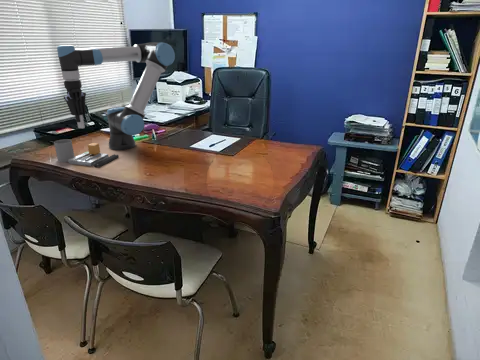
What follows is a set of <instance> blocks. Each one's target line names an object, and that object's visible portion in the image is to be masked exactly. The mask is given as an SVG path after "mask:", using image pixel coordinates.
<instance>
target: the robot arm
mask: <svg viewBox="0 0 480 360" xmlns="http://www.w3.org/2000/svg"><path fill="white" fill-rule="evenodd" d="M56 50H57V51H56V52H57V58H58V60H59V61H58V62H59V65H60V70H61V74H62V79H63V84H64V89H66V95H65V96H63V99H64V101H65V102H66V104H67V107H68V109H69V112H70V114H71V115H72V116H75V121H76V123H77V128H78V129H85V122H84V121H85V120H84V115H85V113H86V108H87V107H86V96H87V93H86V92H83V91H82V88H83V87H82V86H83V85H82V80H81V75H80V70H79V69H80V68H79V67H87V66H99V65H102V64H104V63H116V62H117V63H118V62H121V63H122V62H136V63H146V66H145V68H144V69H143V72H142V75H141V77H140V80H139V81H138V84H137V86H136V88H135V90H134V92H133V95H132V97H131V99H130V102H129V104H127V105H125V106H120V107H119V106H118V107H112V108H108V109H107V110H106V111H107V112H106V113H107V114H106V116H107V122H108V127H109V134H110V135H109V140H108V148H109V149H110V150H113V151H114V150H116V151H123V150H130V149H133V148H135V147H136V141H135V139H134V137H133V136H136V135H138V134H140V133H142V131H143V130H144V128H145V121H144V119H145V117H146V114H145V110H146V108H147V105H148V103H149V100H150V99H151V97H152V95H153V91H154V90H155V88H156V85H157V83H158V81H159V79H160V76H161V74H163V73H165V72H166V71H167V68H168V66H171V65H172V64H173V63H174V61H175V59H176V56H175V55H176V54H175V50H174V48H173V47H172V45H170V44H168V43H166V42H163V41H160V42H154V41H153V42H146V43H139V44H138V43H137V44H136V43H135V44H134V45H133V46H108V47H82V48H80V47H75V46H74V45H73V44H72V45H71V44H68V45H67V44H63V45H58V46H57V47H56Z"/></svg>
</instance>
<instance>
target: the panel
mask: <svg viewBox="0 0 480 360" xmlns="http://www.w3.org/2000/svg"><path fill="white" fill-rule="evenodd" d="M108 157H110V155H109V154H108V153H102V152H100V153H98V154H96V155H93V154H89V151H85V152H82V153H80V154H77V155H76V156H75V157H73V158H71V159H69V160H68V162H67V163H68V164H71V165H79V166H86V167H94V164H95V163H97V162H99V161H101V160H103V159H105V158H108Z"/></svg>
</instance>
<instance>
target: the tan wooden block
mask: <svg viewBox="0 0 480 360" xmlns="http://www.w3.org/2000/svg"><path fill="white" fill-rule="evenodd" d="M87 149H88V152H89V154H93V155H96V154H98V153H101V149H100V144H99V143H98V142H92V143H89V144H87Z"/></svg>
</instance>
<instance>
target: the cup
mask: <svg viewBox="0 0 480 360" xmlns="http://www.w3.org/2000/svg"><path fill="white" fill-rule="evenodd" d="M53 144H54V148H55V154H56V158H57V162H59V163H69V162H68V160H69V159H71V158H73V157H76V156H75V153H74V152H75V151H74V146H73V142H72V139H68V138H67V139H64V138H63V139H59V140H55V141H54V142H53Z"/></svg>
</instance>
